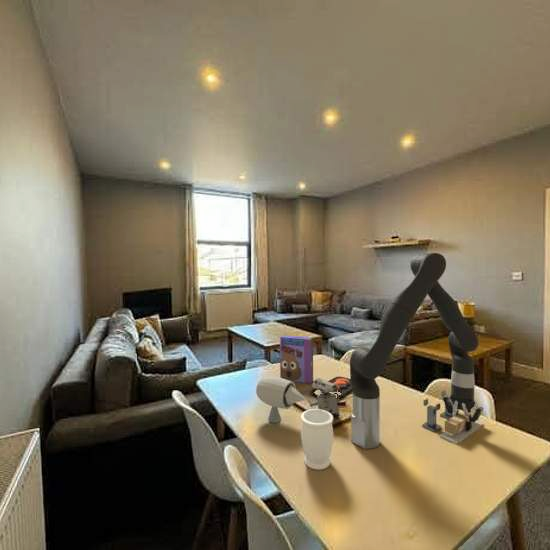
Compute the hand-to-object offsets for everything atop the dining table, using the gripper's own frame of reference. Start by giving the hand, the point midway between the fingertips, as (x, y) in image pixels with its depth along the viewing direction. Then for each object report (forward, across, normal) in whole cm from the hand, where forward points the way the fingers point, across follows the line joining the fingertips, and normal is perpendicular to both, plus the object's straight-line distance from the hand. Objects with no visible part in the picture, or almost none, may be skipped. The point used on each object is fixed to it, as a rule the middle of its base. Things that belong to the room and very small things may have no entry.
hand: (462, 427), depth 117 cm
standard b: (+1, -8, +7) cm, 11 cm away
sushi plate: (+2, -48, -8) cm, 49 cm away
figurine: (+1, -39, -34) cm, 52 cm away
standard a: (+1, -8, -7) cm, 11 cm away
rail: (-1, 0, 0) cm, 1 cm away
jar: (+1, -19, -57) cm, 60 cm away
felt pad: (+1, 0, 0) cm, 1 cm away
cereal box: (+1, -77, -18) cm, 79 cm away
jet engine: (+1, -47, -52) cm, 70 cm away
